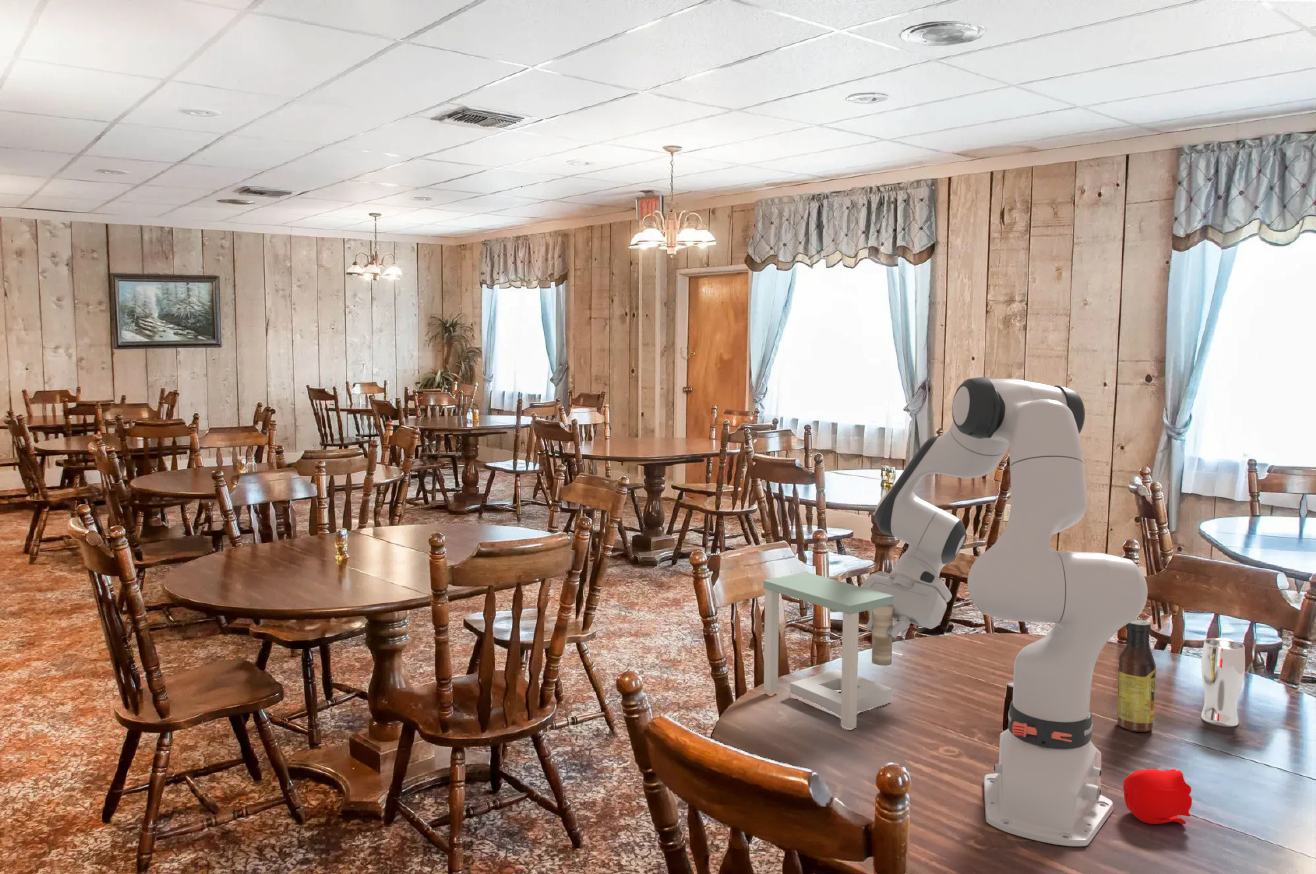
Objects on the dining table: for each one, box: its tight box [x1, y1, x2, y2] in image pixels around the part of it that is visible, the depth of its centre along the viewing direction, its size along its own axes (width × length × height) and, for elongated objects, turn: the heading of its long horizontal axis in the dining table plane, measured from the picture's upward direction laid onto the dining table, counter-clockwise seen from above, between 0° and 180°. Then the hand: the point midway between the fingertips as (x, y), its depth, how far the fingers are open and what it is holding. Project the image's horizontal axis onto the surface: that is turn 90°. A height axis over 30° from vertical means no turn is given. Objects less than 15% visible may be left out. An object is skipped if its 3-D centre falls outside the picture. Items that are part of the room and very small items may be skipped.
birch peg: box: [871, 605, 894, 667], centre depth 192 cm, size 4×4×12 cm
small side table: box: [762, 571, 893, 728], centre depth 183 cm, size 12×23×24 cm, turn 36°
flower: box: [1122, 768, 1193, 825], centre depth 139 cm, size 8×8×8 cm
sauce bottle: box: [1116, 618, 1157, 733], centre depth 173 cm, size 7×6×20 cm
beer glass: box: [1200, 637, 1246, 728], centre depth 176 cm, size 7×7×15 cm
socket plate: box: [789, 668, 892, 716], centre depth 186 cm, size 14×14×3 cm
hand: (880, 632), depth 192 cm, fingers closed on birch peg, 4 cm apart
